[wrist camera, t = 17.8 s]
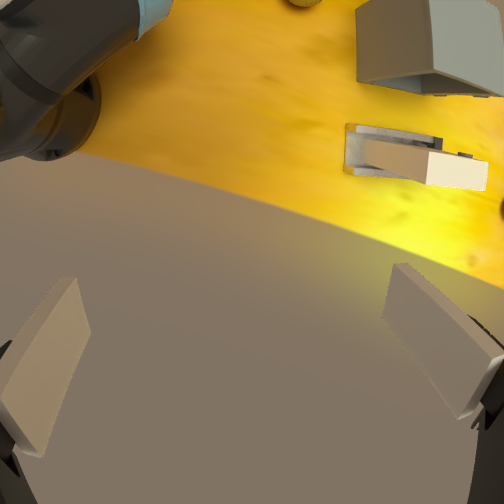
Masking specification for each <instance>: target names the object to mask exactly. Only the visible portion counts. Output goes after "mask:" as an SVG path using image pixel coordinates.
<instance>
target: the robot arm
mask: <svg viewBox="0 0 504 504" xmlns="http://www.w3.org/2000/svg"><path fill="white" fill-rule="evenodd" d="M172 3H173V0H0V162H1V161H4V160H7V159H11V158H14V157H18V156H22V155H23V156H25V157H28V158H31V159H33V160H37V161H52V160H55V159H59V158H62V157H65V156H67V155H69V154H71V153H73V152H74V151H76V150H77V149H78V148H79V147H80V146H81V145H82V144H83V143H84V142H85V141H86V140H87V139H88V137H89V136H90V134H91V133H92V131H93V129H94V127H95V125H96V122H97V120H98V116H99V112H100V106H101V93H100V87H99V83H98V80H97V78H96V76H95V74H94V73H93V72H94V71H95V70H97V69H98V68H99V67H100V66H101V65H103V64H104V63H105V62H106V61H108V60H109V59H110V58H111V57H113V56H114V55H115V54H117V53H118V52H119V51H121V50H122V49H123V48H125V47H126V46H127V45H129V44H130V43H131V42H136V41H138V40H139V39H140V38H141V37H142V35H143V34H144V33H145V32H147V31H148V30H150V29H151V28H152V27H154V26H155V25H157V24H158V23H159V22H161V21H162V20H164V19H165V18H166V17H167V16H168V14H169V12H170V10H171V7H172ZM382 319H383V320H384V321H385V322H386V324H387V325H388V326H389V328H390V329H391V330H392V332H393V333H394V334H395V335H396V337H397V338H398V339H399V340H400V342H401V343H402V345H403V346H404V347H405V348H406V350H407V351H408V352H409V354H410V355H411V356H412V358H413V359H414V360H415V362H416V363H417V364H418V366H419V367H420V368H421V370H422V371H423V372H424V374H425V375H426V376H427V378H428V379H429V380H430V382H431V383H432V385H433V386H434V387H435V389H436V390H437V392H438V393H439V394H440V396H441V397H442V399H443V400H444V402H445V403H446V404H447V406H448V407H449V409H450V410H451V411H452V413H453V414H454V416H455V417H456V418H457V420H459V419H461V418H463V417H465V416H468V415H470V414H472V413H473V411H474V409H475V408H476V407H477V405H478V403H479V402H481V403H482V404H483V406H484V407H483V409H482V410H481V412H480V413H479V415H478V416H477V418H476V419H475V421H474V422H473V424H472V426H471V429H473V428H474V427H475V426H476V424H477V423H478V422H479V427H478V428H477V430H479V433H478V442H477V451H476V458H475V465H474V471H473V477H472V483H471V488H470V493H469V498H468V502H467V504H504V346H503V345H502V344H501V343H500V342H499V341H498V340H497V339H496V338H495V337H494V336H493V335H490V332H489V331H488V330H486V329H484V327H483V326H482V325H481V324H480V323H479V322H478V321H477V320H476V319H474V318H472V317H471V316H469V315H467V314H465V313H464V312H463V311H462V310H461V309H460V308H459V307H458V306H457V305H456V304H454V303H453V302H452V301H451V300H450V299H449V298H448V297H447V296H446V295H444V294H443V293H442V292H441V291H440V290H439V289H438V288H436V287H435V286H434V285H433V284H432V283H431V282H430V281H428V280H427V279H426V278H425V277H424V276H423V275H421V274H420V273H419V272H418V271H417V270H415V269H414V268H413V267H411V265H409V264H408V263H400V264H393V269H392V274H391V278H390V283H389V287H388V292H387V296H386V301H385V305H384V309H383V313H382ZM90 334H91V331H90V328H89V325H88V321H87V318H86V314H85V310H84V307H83V303H82V299H81V295H80V291H79V287H78V283H77V279H76V277H60V278H59V279H58V281H57V282H56V283H55V284H54V285H53V287H52V288H51V289H50V291H49V292H48V293H47V294H46V296H45V297H44V298H43V300H42V301H41V303H40V304H39V305H38V306H37V308H36V309H35V310H34V312H33V313H32V314H31V316H30V317H29V318H28V320H27V321H26V323H25V324H24V325H23V327H22V328H21V330H20V331H19V333H18V334H17V335H16V337H15V338H14V340H9V341H8V342H7V343H5V344H4V345H3V346H2V347H1V348H0V504H37V501H36V499H35V497H34V495H33V493H32V491H31V489H30V487H29V485H28V483H27V480H26V478H25V476H24V474H23V471H22V469H21V467H20V464H19V461H18V459H17V457H16V455H15V454H14V452H13V451H12V449H13V447H14V444H15V443H16V444H17V446H18V447H19V448H20V449H21V451H22V452H23V453H24V454H28V455H32V456H36V457H40V458H43V456H44V453H45V450H46V447H47V444H48V441H49V438H50V435H51V432H52V429H53V426H54V423H55V420H56V417H57V415H58V412H59V409H60V407H61V404H62V401H63V398H64V396H65V393H66V391H67V388H68V386H69V383H70V381H71V378H72V376H73V374H74V371H75V369H76V366H77V364H78V362H79V359H80V357H81V354H82V352H83V350H84V348H85V345H86V343H87V341H88V339H89V336H90Z"/></svg>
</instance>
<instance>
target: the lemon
mask: <svg viewBox="0 0 504 504" xmlns="http://www.w3.org/2000/svg"><path fill="white" fill-rule="evenodd" d="M289 1H290V2H292V3H293V4H295V5H298V6H303V7H309V6H313V5H316V4H317V3H319V2H321V1H322V0H289Z"/></svg>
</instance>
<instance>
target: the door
mask: <svg viewBox="0 0 504 504" xmlns="http://www.w3.org/2000/svg"><path fill="white" fill-rule="evenodd" d="M472 157H473V155H470V154H465V153H461V152H458V154H454V153H449V152H445V151H441V150H436V149H432V148H427V145H425V144H419V143H414V145H411V144H404V143H397V142H390V141H382V140H374V139H365V138H362V153H361V162H363V163H366V164H369V165H372V166H375V167H378V168H381V169H384V170H387V171H390V172H393V173H395V174H398V175H401V176H404V177H407V178H409V179H412V180H415V181H417V182H420V183H423V184H425V185H434V186H444V187H454V188H463V189H471V190H479V191H485V187H486V180H487V173H488V164H489V163H488V162H484V161H481V160H477V159H473V158H472Z"/></svg>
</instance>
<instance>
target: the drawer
mask: <svg viewBox="0 0 504 504" xmlns="http://www.w3.org/2000/svg"><path fill="white" fill-rule="evenodd" d="M362 138H365V139H374V140H382V141H390V142H397V143H404V144H411V145H414V143H419V144H425V145H427V148H432V149H436V150H441V151H442V143H443V138H438V137H432V136H427V135H422V134H416V133H410V132H404V131H398V130H391V129H384V128H377V127H370V126H361V125H350V124H346V137H345V155H344V170H343V171H345V172H347V173H349V174H352V175H359V176H376V177H390V178H403V179H409V178H407V177H404V176H401V175H398V174H395V173H393V172H390V171H387V170H384V169H381V168H378V167H375V166H372V165H369V164H366V163H363V162H361V153H362Z"/></svg>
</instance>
